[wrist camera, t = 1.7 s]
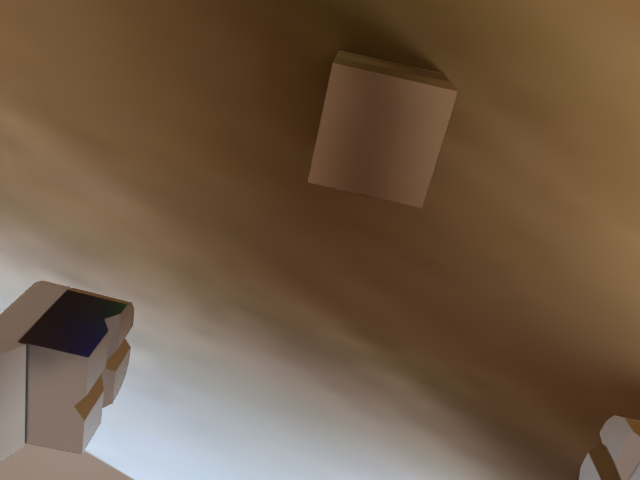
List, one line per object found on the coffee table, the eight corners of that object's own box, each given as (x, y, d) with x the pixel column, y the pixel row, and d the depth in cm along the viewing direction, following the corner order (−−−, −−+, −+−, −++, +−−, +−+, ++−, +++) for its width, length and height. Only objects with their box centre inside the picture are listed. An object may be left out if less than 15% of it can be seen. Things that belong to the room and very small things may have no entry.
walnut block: (443, 72, 27) (458, 91, 22) (414, 172, 29) (422, 208, 24) (339, 48, 27) (332, 62, 22) (317, 150, 29) (307, 182, 24)
